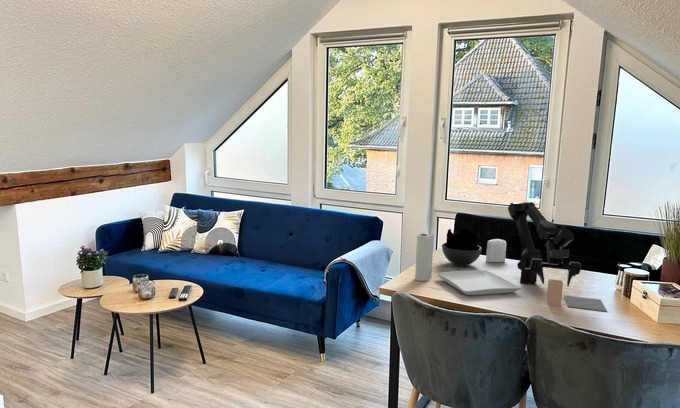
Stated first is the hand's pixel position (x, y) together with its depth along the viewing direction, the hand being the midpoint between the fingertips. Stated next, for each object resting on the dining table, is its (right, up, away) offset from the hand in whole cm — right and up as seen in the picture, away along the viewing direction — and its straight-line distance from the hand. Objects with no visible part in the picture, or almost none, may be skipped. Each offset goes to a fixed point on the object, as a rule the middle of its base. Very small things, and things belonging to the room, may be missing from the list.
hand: (555, 284), depth 195 cm
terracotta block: (0, -8, +1) cm, 8 cm away
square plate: (-26, -5, +22) cm, 34 cm away
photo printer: (-3, +1, +65) cm, 65 cm away
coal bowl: (-24, 0, +57) cm, 62 cm away
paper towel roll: (-49, -3, +29) cm, 57 cm away
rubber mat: (+13, -8, +2) cm, 15 cm away
